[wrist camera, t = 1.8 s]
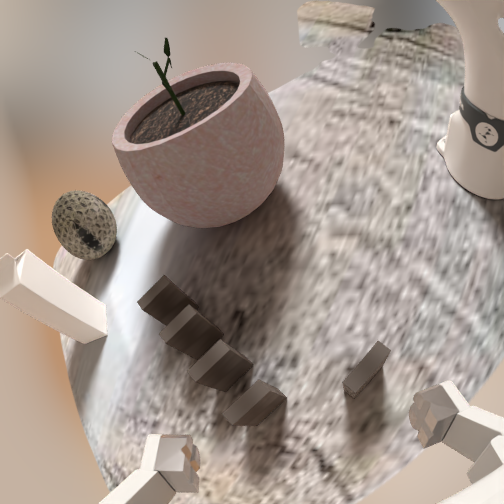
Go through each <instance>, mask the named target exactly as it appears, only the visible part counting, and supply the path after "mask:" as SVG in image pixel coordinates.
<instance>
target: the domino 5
mask: <svg viewBox="0 0 504 504" xmlns="http://www.w3.org/2000/svg"><path fill="white" fill-rule="evenodd" d="M390 352H391V350H390V349H388V348H387V347H386V346H385V345H383V344H382V343H381V342H379V341H377V342H376V344H375V345H374V346H373V347H372V349H371V350H370V351H369V352H368V353H367V355H366V356H365V357H364V358H363V359H362V361H361V362H360V363H359V364H358V365H357V366H356V368H355V369H354V370H353V371H352V372H351V373H350V374H349V375H348V377H347V378H346V379H345V380H344V381H343V382H342V383H343V388H344V391H345V392H346V393H348V394H349V395H350V396H351V397H352V398H354V399H355V398H356V396H357V395H358V394H359V393H360V392H361V391H362V390H363V389H364V387H365V386H366V385H367V384H368V383H369V382H370V380H371V379H372V378H373V377H374V376H375V375H376V373H377V372H378V371H379V370H380V369H381V367H382V366H383V364H384V363H385V361H386V359H387V357H388V355H389V353H390Z"/></svg>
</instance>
